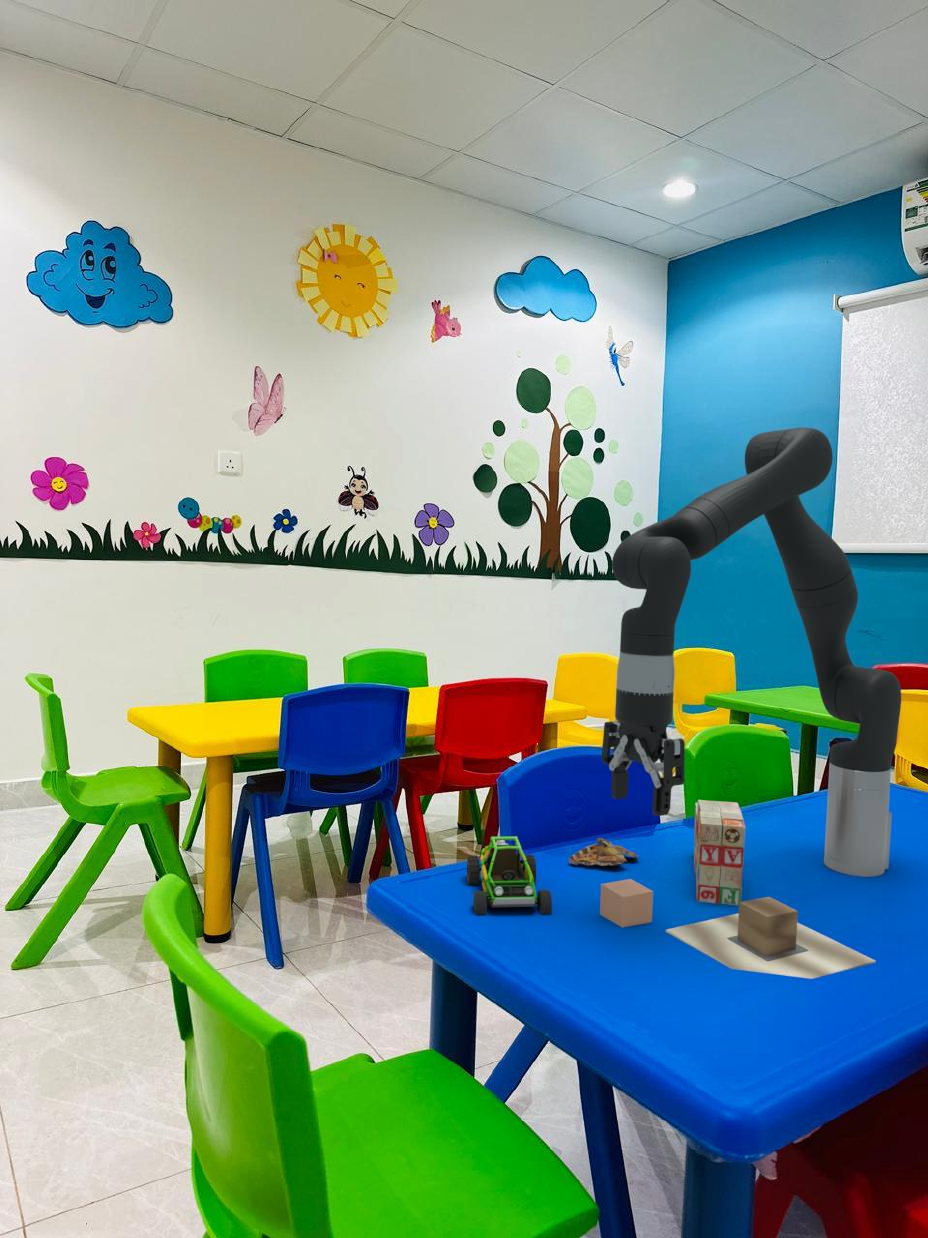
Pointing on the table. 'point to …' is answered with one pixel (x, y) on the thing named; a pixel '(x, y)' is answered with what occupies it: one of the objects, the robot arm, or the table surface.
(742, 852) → the stack of blocks
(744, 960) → the cream flat pad
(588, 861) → the butterfly model
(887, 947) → the table surface
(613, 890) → the terracotta cube
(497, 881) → the motor vehicle
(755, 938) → the walnut cube
